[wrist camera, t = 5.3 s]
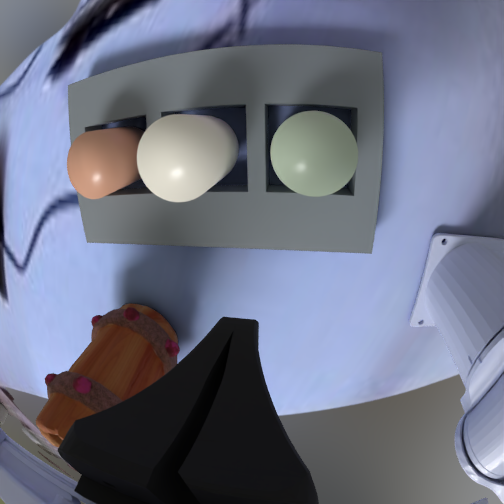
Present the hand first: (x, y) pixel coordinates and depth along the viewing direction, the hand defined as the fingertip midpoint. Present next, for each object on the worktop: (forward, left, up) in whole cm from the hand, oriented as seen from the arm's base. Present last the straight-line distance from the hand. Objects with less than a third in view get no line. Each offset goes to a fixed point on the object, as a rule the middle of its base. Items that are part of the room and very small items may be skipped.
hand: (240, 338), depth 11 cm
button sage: (-3, -6, -9) cm, 11 cm away
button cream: (+3, -6, -8) cm, 11 cm away
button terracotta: (+9, -6, -9) cm, 15 cm away
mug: (+11, +12, -10) cm, 19 cm away
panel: (+3, -6, -10) cm, 12 cm away
